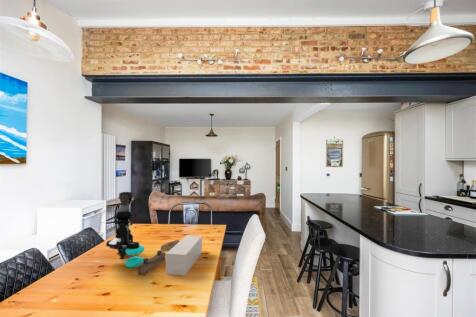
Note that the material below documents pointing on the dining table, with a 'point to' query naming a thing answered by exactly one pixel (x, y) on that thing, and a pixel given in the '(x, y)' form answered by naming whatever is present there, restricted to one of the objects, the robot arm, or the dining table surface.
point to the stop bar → (151, 263)
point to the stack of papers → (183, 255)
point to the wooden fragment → (169, 246)
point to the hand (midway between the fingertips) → (122, 259)
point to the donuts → (134, 260)
